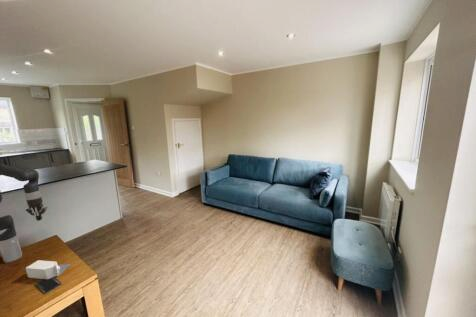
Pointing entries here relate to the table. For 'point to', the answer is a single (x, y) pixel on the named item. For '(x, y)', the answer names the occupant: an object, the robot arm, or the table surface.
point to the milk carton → (43, 269)
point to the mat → (63, 268)
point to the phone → (48, 284)
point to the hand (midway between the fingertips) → (39, 220)
